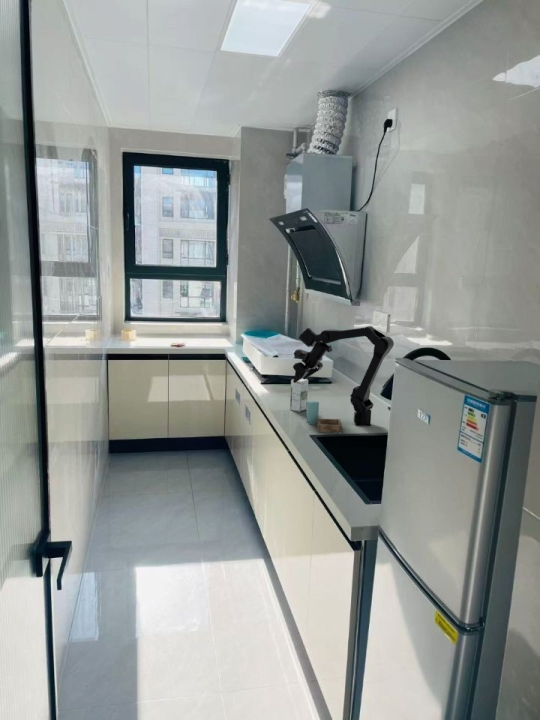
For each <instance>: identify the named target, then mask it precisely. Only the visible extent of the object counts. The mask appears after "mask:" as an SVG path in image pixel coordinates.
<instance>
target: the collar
mask: <svg viewBox="0 0 540 720" xmlns="http://www.w3.org/2000/svg"><path fill="white" fill-rule="evenodd" d="M342 426H343V425H342V423H341V419H340V418H318V419H317V424H316V428H318V429H317V432H318V433H330V432H341V433H342V428H343V427H342Z"/></svg>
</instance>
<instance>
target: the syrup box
mask: <svg viewBox="0 0 540 720" xmlns="http://www.w3.org/2000/svg"><path fill="white" fill-rule="evenodd" d="M293 380H294V378H293V379H291V380H290V400H289V401H290V403H289V404H290V405H289V410H290V411H294V412H299V413H300V412H303V411H304V412H305V411H307V402H308V394H309V393H308V391H309V379H308V378H306V379H303V378H302V379H300V380H299V381H297V382H296V383H294V382H293Z"/></svg>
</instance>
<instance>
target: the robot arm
mask: <svg viewBox="0 0 540 720" xmlns="http://www.w3.org/2000/svg"><path fill="white" fill-rule="evenodd" d="M360 337H361V338H363V337H366V338H367V340H368V341H369V342H370V344H372V345H373V346H374V347H373V355H372V358H371V361H370V363H369V365H368V367H367V369H366V372H365V374H364V376H363V379H362V381H361V382H360V385H357V386H355V387H353V389H352V392H351V394H350V396H349V397H350V404H351V405H352V406H353V410H354V412H353V422H354V424H355V426H363V427H364V426H366V427H371V426H372V424H371V420H372V409H373V407H374V403H373V402H372V400H371V399H370V395H371V388H372V385H373V382H374V381H375V378H376V376H377V375H378V374H377V373H378V372H379V370H380V368H381V365H382V363H383V361H384V359H385V358H386V357H387V355H388V354H389V353H390V352H391V350H392V349H393V347H394V345H395V342H394V340H393V338H391V337H390V336H388V335H387V336H386V335H385V334H384V333H382V332H380V331H379V330H377V329H376V328H375V327H373V326H371V325H369V326H365V327H358V328H357V327H356V328H350V329H348V328H347V329H334V328H333V329H332V328H329V329H325V330H322V331H321V333H318V334H317V333H316V332H315V331H313V330H312V328H310V327H307V328H306V329H305V330H304V331H303V332H302V333H300V334H299V337H298V340H299V341H300V342H301V343H302V344H304V345H305V346H306V347H308V348H311V350H310V351H307V350H303V349H296V350H294V352H293V356H294V358H297V359H299V360H301V361H299V362H295V363H294V364H293V366H292V368H293V370H294V371H295V372H294V376H293V379H294V380H293V379H292V380H293V382H294V383H296V382H297V381H299V380H300V379H302V378H303V379H308V378H309V377H311V376H312V375H314V374H316V373H317V372H319V371H321V370H322V369H323V367H324V364H323V363H322V361H323V357H324V355H325V354H326V353H331V352H333V347H332V344H331V345H329V344H330V343H333V342H338V341H341V340H344V339H352V338H353V339H354V338H360Z"/></svg>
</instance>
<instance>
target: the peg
mask: <svg viewBox="0 0 540 720" xmlns="http://www.w3.org/2000/svg"><path fill="white" fill-rule="evenodd" d="M319 409H320V402H319V401H317V400H316V401H315V400H307V410H306V421H305V422H306V424H307V423H308V424H307V425H317V419H319V414H320V413H319Z"/></svg>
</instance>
